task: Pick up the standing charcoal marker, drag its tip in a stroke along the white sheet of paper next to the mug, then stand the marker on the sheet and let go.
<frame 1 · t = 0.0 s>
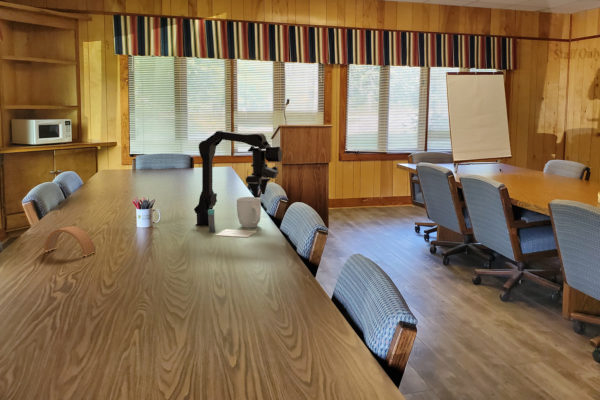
hand: (259, 195, 247), 15 cm above the table, tool pointing down, fingers open, 9 cm apart
arch: (69, 253, 211), on the table
paper: (236, 233, 239), on the table
marker: (212, 231, 243), on the table
mug: (250, 227, 251), on the table
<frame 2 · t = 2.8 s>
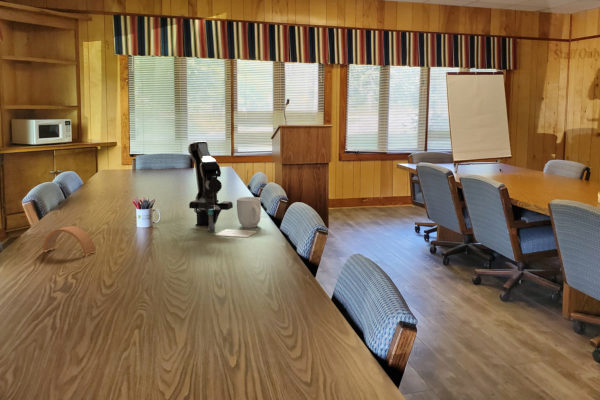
hand: (211, 224, 242), 4 cm above the table, tool pointing down, fingers closed on marker, 3 cm apart
marker: (212, 231, 243), on the table, touching gripper
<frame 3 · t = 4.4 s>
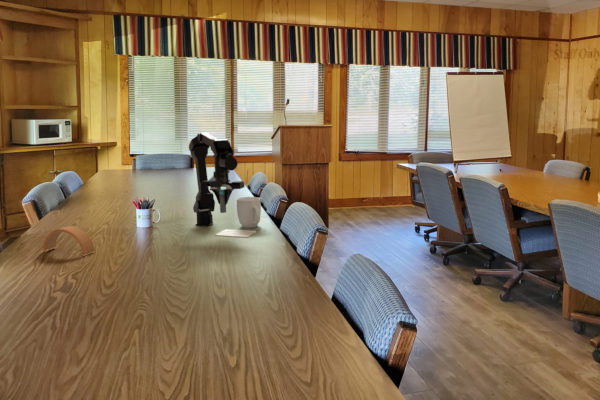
hand: (223, 204, 237), 13 cm above the table, tool pointing down, fingers closed on marker, 3 cm apart
marker: (223, 212, 237), point 10 cm above the table, touching gripper
everything else where it was.
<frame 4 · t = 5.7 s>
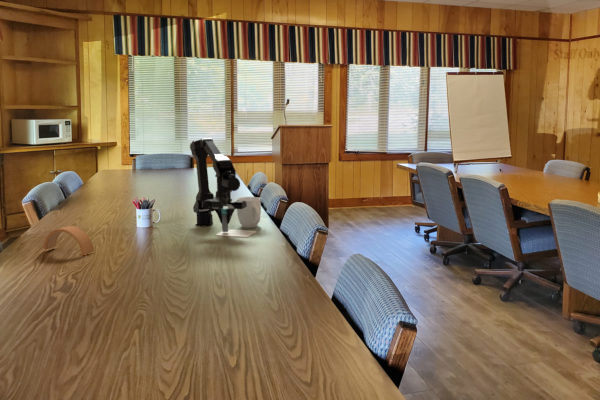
hand: (225, 223, 238), 5 cm above the table, tool pointing down, fingers closed on marker, 3 cm apart
marker: (225, 231, 239), point 1 cm above the table, touching gripper
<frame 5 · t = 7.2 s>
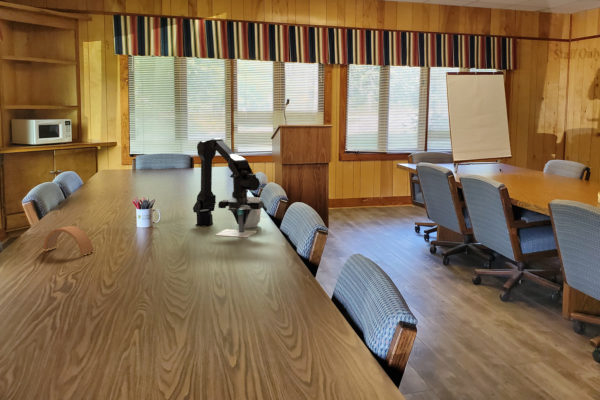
hand: (241, 224, 236), 5 cm above the table, tool pointing down, fingers closed on marker, 3 cm apart
marker: (241, 232, 236), point 1 cm above the table, touching gripper
when the fingers open (4 cm above the table, at t = 8.6 s): marker stays where it is, resting on paper.
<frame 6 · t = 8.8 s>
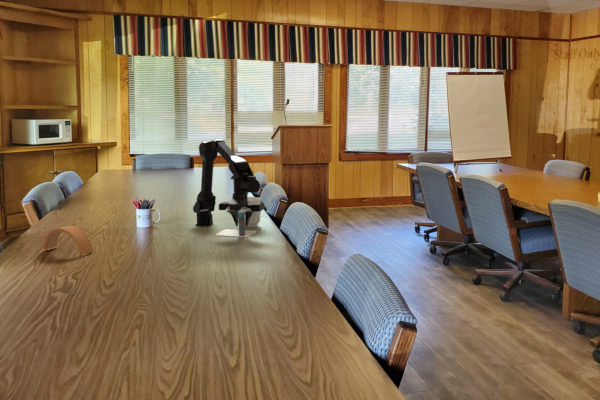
hand: (241, 226, 234), 4 cm above the table, tool pointing down, fingers open, 4 cm apart
marker: (241, 234, 234), resting on paper
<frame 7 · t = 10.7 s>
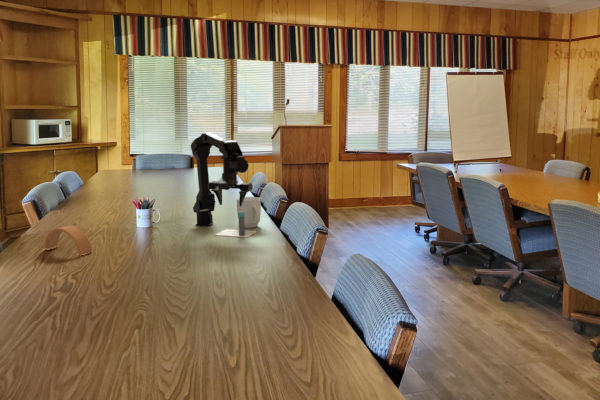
hand: (230, 205, 237), 12 cm above the table, tool pointing down, fingers open, 9 cm apart
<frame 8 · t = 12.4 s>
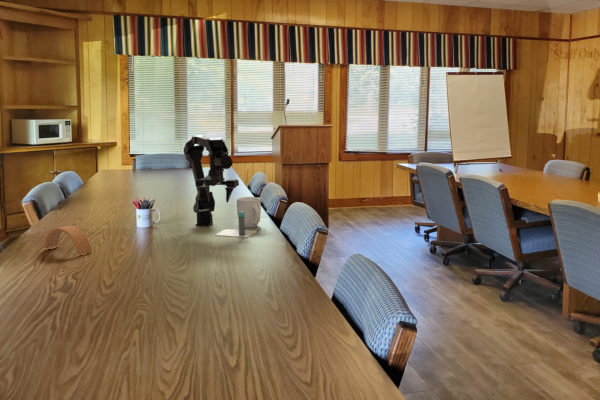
hand: (217, 202, 243), 13 cm above the table, tool pointing down, fingers open, 9 cm apart
at the end: marker inside the target area on the paper (5.1 cm from its centre), point 0.3 cm above the paper's base; marker tilted 1°; the gripper is holding nothing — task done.
